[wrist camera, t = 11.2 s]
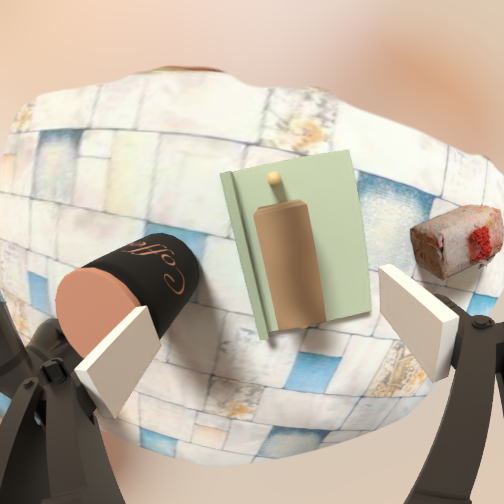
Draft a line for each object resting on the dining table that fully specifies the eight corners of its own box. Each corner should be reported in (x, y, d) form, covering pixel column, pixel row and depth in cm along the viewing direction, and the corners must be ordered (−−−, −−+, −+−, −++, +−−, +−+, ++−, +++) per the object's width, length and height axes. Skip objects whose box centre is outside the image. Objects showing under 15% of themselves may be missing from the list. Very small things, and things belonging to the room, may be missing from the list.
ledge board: (261, 328, 39) (259, 344, 35) (225, 174, 35) (218, 173, 30) (368, 306, 37) (378, 320, 33) (345, 150, 33) (355, 146, 28)
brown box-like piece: (278, 297, 36) (278, 330, 28) (258, 207, 34) (252, 215, 25) (315, 289, 36) (327, 321, 27) (299, 199, 33) (307, 204, 24)
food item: (471, 196, 32) (512, 203, 22) (478, 243, 34) (516, 259, 24) (405, 222, 34) (442, 235, 25) (416, 273, 36) (449, 298, 26)
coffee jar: (216, 265, 38) (171, 331, 20) (174, 315, 40) (120, 390, 23) (158, 215, 37) (76, 243, 19) (122, 269, 39) (45, 320, 22)
